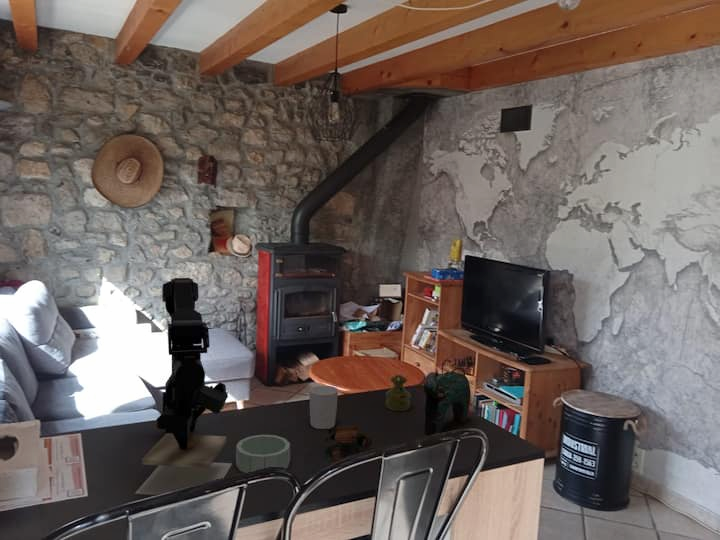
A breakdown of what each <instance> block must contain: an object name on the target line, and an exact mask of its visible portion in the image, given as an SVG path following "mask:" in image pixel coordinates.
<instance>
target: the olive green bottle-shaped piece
mask: <svg viewBox="0 0 720 540" xmlns="http://www.w3.org/2000/svg"><path fill="white" fill-rule="evenodd" d="M390 381H391V382H392V383H393V386H392V387H391V388H390V389H389V390H387V391H386V392H385V395H386V396H385V397H386V399H385V407H386V409H388V410H390V411H393V412H406V411H408V410H409V409H410V407H411V404H410V403H411V400H410V399H411V396H412V395H411V393H410V391H408V390H407V389H406V388H405V387H404V385H405V384H406V383H407V382H408V379H407V377H405V376H403V375H402V374H396V375H394V376H392V377H391V378H390Z"/></svg>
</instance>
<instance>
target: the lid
mask: <svg viewBox="0 0 720 540" xmlns="http://www.w3.org/2000/svg"><path fill="white" fill-rule="evenodd" d="M165 433H166V432H165ZM165 433H164V434H165ZM164 434H163V435H164ZM163 435H162V437H161V438H160V439H159V441H158V442H157V443H155V445H154V446H153V447H152V448H151V449H150V450H149V451H148V452H147V453H146V454H145V455H144V456H143V457H142V458H141V465H144V466H145V465H146V466H147V465H149V466H159V465H161V466H178V467H195V468H209V467H210V466H211V464H212V463H213V462H214V461H215V460H216V458H217V456H218V455H219V453H220V452H221V450H222V449H223V448H224V446H225V445H226V443H227V442H228V436H225V435H223V436H222V435H206V434H195V432H193V431H189V437H188V443H187V448H186V449H181V448H180V446H179V444H178V442H177V441H176V439H175V437H174V435H173V433H166V434H165V435H164V436H163Z"/></svg>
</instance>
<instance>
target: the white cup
mask: <svg viewBox="0 0 720 540" xmlns="http://www.w3.org/2000/svg"><path fill="white" fill-rule="evenodd" d="M338 396H339V388H337V387H335V386H331V385H315V386H312V387H310V388H309V416H310V417H309V418H310V426H311V427H313V428H314V429H318V430H327V429H330V428H334V427H335V425H336V416H337V410H338Z"/></svg>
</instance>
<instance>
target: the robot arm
mask: <svg viewBox="0 0 720 540" xmlns="http://www.w3.org/2000/svg"><path fill="white" fill-rule="evenodd" d="M161 292H162V295H161V298H162V303H164V304H165V305H164V307H165V310H166V312H167V314H168V316H169V317H170V323H167V345H168V346H167V347H168V355H169V356H171V374H170V376H169V377H168V379H167V380H166V381H165V385H164V386H165V391H162V399H161V402H162V404H161V405H162V406H161V407H162V409H161V410H162V413H161V414H160V415H159V416H158V417H157V418H156V429H158V430H165V433H164V434H163V435H162V437H163V436H164V435H165V434H166V433H173V435H174V437H175V439H176V441H177V442H178V444H179V446H180V448H181V449H186V448H187V443H188V437H189V431H193V432H194V433H195V432H196V428H197V424H198V421H199V417H200V416H201V415H203V414H204V412H205V411H206V410H209V411H211V413H213V414H220V412H221V411H222V410H223V409H224V407H225V404H226V401H227V399H228V397H229V395H228V394H229V392H228V391H227V388H226V384H225V383H223V382H218V383H217V384H216V385H215V386H214V387H213V385H210V386H208V385H206V384H205V379H206V372H205V367H204V365H203V363H202V361H201V360H202V359H201V356H202V355H201V354H208V348H210V346H211V345H210V344H211V343H210V335H209V334H210V333H209V327H208V326H207V323H206V322H205V321H203V317H202V316H203V315H202V313H201V312H199V311H198V310H195V309H196V302H198V300H199V284H198V283H197V282H195V281H194V279H193V278H190V277H174V278H171V279H170V280H169V281H168V282H165V283H163V284H162V291H161Z"/></svg>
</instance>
